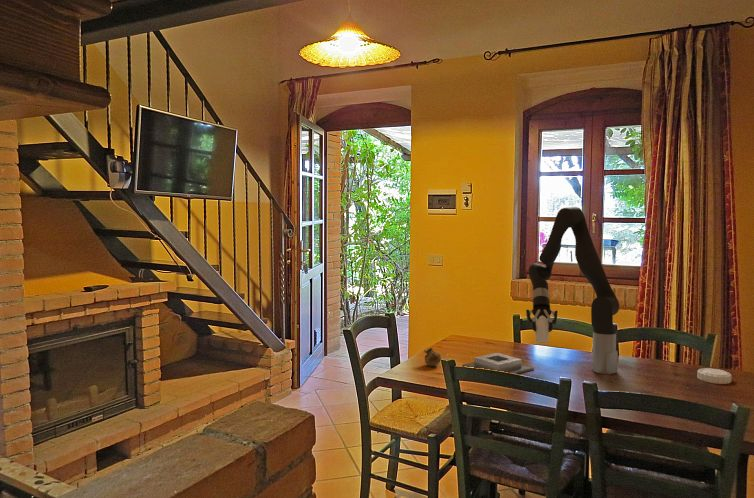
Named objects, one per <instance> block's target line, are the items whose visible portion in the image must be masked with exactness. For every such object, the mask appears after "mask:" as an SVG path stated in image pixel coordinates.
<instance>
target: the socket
mask: <svg viewBox="0 0 754 498" xmlns="http://www.w3.org/2000/svg"><path fill="white" fill-rule="evenodd" d="M473 360H474V361H473V362H468V363H465V364H461V365H462V366H467V367H474V368H484V369H490V370H497V371H504V372H508V373H516V374H517V375H520V374H519V373H521V374H523V373H528V372H531V371H534V370H535V368H534V367H532V366H528V365H525V364H522V359H521V358H519V357H514V356H510V355H506V354H503V353H500V352H493V353H490V354H483V355H480V356H476V357H474V359H473Z"/></svg>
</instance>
